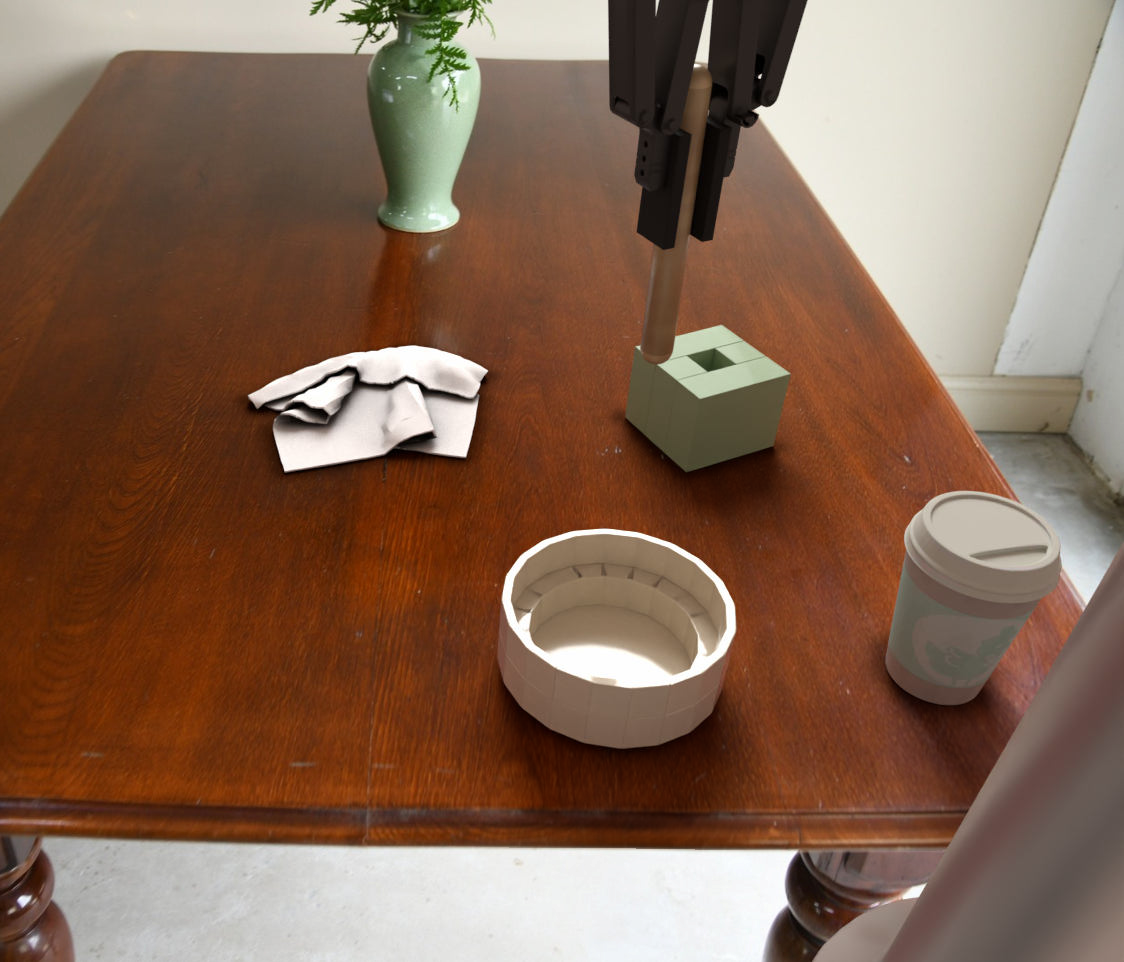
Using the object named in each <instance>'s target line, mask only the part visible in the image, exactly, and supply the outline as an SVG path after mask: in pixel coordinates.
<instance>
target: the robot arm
mask: <svg viewBox="0 0 1124 962" xmlns="http://www.w3.org/2000/svg"><path fill="white" fill-rule="evenodd" d="M709 3H710V0H658V4H657V0H607V20H608V21H607V23H608V25H607V27H608V29H607V30H608V31H607V32H608V33H607V34H608V97H609V98H608V100H609V102H608V103H609V106H608V107H609V110H610V111H611V114H614V115H615V116H617V117H619V118H621V119H623V120H624V121H626V122H628V123H630V124H631V125H634V127H637V128H638V129H639V130H638V131H639V132H638V133H639V134H638V142H637V150H636V158H635V166H634V173H633V176H634V179H635V183H636V184H637V185H639V186H641V188H642V189H641V194H640V202H639V209H638V218H637V225H636V233H637V234H638V235H640V236H641V237H643V238H644V239H646V240H647V241H648V242H650V243H652V245H653V244H655V245H656V246H658V247H659V248H661V249H662V250H667V249H672V248H674V247H675V241H676V234H677V228H678V221H679V215H680V208H681V202H682V195H683V189H684V182H685V176H686V169H687V163H688V156H689V150H690V143H691V137H692V134H690V133H688V132H686V131H684V130H682V129H681V128H680V125H681V122H682V117H683V113H684V108H685V104H686V99H687V95H688V91H689V86H690V82H691V77H692V73H693V68H694V64H696V59H697V55H698V51H699V46H700V41H701V38H702V37H701V36H702V33H703V29H704V28H703V27H704V25H705V19H706V15H707V10H708V6H709ZM807 5H808V0H712V5H711V6H712V7H711V15H710V16H711V19H710V30H709V31H710V32H709V45H708V57H707V67H706V68H707V69H708V70H709V72H710V74H711V76H712V89H711V96H710V103H709V110H708V116H707V123H706V130H705V137H704V144H703V151H702V157H701V164H700V171H699V178H698V185H697V192H696V198H695V205H694V212H693V219H692V226H691V233H690V237H693V238H695V239H696V240H697V241H699V242H700V243H704V242H710V241H713V240H714V235H715V230H716V229H715V228H716V223H717V217H718V212H719V206H720V200H721V194H722V190H723V189H722V188H723V182H724V179H725V178H729V177H730V176H731V174H732V171H733V170H734V167H735V161H736V157H737V150H738V145H739V140H740V133H741V127H742V128H744V129H749V128H752V127H753V126H754V125H756V123H757V121H758V120H759V116H760V114H759V113H757V112H755V111H754V110H756V109H758V108H760V107H764V108H770V107H772V106H774V104H775V103H776V102H777V101H778V99H779V96H780V93H781V90H782V86H783V83H784V80H785V77H786V73H787V69H788V66H789V63H790V60H791V57H792V54H793V50H794V48H795V44H796V40H797V37H798V33H799V31H800V27H801V24H802V20H803V17H804V14H805V10H806V8H807ZM759 77H760V78H759ZM1041 682H1042V683H1041V684H1040V686H1039V688H1038V689H1037V691H1036V693H1035V695H1034V696H1033V698H1032V700H1031V701H1030V703H1029V704H1028V707H1027V709H1026V710H1025V712H1024V714H1023V716H1022V717H1021V719H1020V721H1019V722H1018V724H1017V726H1016V727H1015V729H1014V731H1013V732H1012V734H1011V736H1010V738H1009V740H1008V741H1007V743H1006V745H1005V747H1004V748H1003V750H1002V752H1001V753H1000V755H999V757H998V758H997V760H996V762H995V764H994V766H993V767H992V769H991V771H990V773H989V774H988V776H987V778H986V779H985V781H984V782H983V785H982V787H981V788H980V790H979V792H978V793H977V795H976V797H975V798H974V800H973V802H972V804H971V805H970V807H969V809H968V811H967V813H966V814H965V816H964V818H963V819H962V822H961V823H960V824H959V826H958V828H957V830H956V831H955V833H954V835H953V837H952V839H950V842H949V844H948V845H947V847H946V849H945V851H944V852H943V854H942V856H941V857H940V860H939V861H938V863H937V865H936V866H935V868H934V870H933V871H932V873H931V875H930V876H929V878H928V880H927V882H926V884H925V885H924V887H923V889H922V890H921V893H920V894H919V895H918V896H917V897H916V896H915V897H910V898H909V897H908V898H903V899H898V900H895V901H891V902H889V903H886V904H882V905H879V906H876V907H874V908H872V909H870V910H868V911H866V912H864V913H862V914H859V915H858V916H856V917H855V918H853V919H852V920H851V921H850V922H847V924H845V925H844V926H842V927H841V928H840V929H839V930H838V931H836V932H835V933H834V934H833V935H832V936H831V937H830V938H829V939H828V940H826V942H825V943H824V944H822V946H821V948H820V949H819V951H818V952H817V953H816V955H815V956H814V958H813V959H812V961H811V962H1124V541H1123V542H1122V544H1121V545H1120V546H1119V548H1118V550H1117V551H1116V554H1115V555H1114V557H1113V559H1112V560H1111V563H1110V564H1109V566H1108V568H1107V569H1106V571H1105V573H1104V575H1103V576H1102V578H1101V580H1100V582H1099V583H1098V585H1097V587H1096V589H1095V590H1094V592H1093V594H1092V595H1091V598H1090V599H1089V601H1088V603H1087V604H1086V606H1085V608H1084V610H1083V611H1082V612H1081V615H1080V616H1079V618H1078V620H1077V622H1076V623H1075V625H1074V627H1073V628H1072V630H1071V632H1070V634H1069V635H1068V637H1067V639H1066V641H1065V643H1064V644H1063V646H1062V648H1061V650H1060V651H1059V653H1058V655H1057V656H1056V658H1055V659H1054V661H1053V664H1052V665H1051V667H1050V668H1049V671H1048V672H1047V673H1046V675H1045V677H1044V679H1043V680H1042V681H1041Z"/></svg>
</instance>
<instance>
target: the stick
mask: <svg viewBox="0 0 1124 962" xmlns="http://www.w3.org/2000/svg"><path fill="white" fill-rule="evenodd" d="M711 89H712V76H711V74H710V72H709V70H708V69H707V67H706V66H704V65H703V64H700V63H695V64H694V68H693V73H692V77H691V82H690V86H689V91H688V95H687V99H686V104H685V108H684V113H683V117H682V122H681V125H680V128H681V129H682V130H684V131H686V132H688V133H690V134H692V137H691V143H690V150H689V156H688V163H687V169H686V176H685V182H684V189H683V195H682V202H681V208H680V215H679V221H678V228H677V234H676V241H675V247H674V248H672V249H667V250H662V249H661V248H659V247H658V246H656V245H655V244H653V243H652V253H651V259H650V260H651V261H650V268H649V276H648V283H647V292H646V300H645V306H644V316H643V323H642V331H641V339H640V345H641V346H640V345H639V346H640V351H641V355H642V357H643V358H644V359H645V360H646V361H647V362H649V363H651V364H662V363H664V362H666V361H667V360H669V358H670V357H671V355H672V353H673V349H674V342H675V336H677V335H676V334H677V328H678V321H679V314H680V306H681V300H682V293H683V288H684V280H685V273H686V266H687V261H688V260H687V259H688V252H689V246H690V240H691V239H690V238H691V235H690V233H691V226H692V219H693V212H694V205H695V198H696V192H697V185H698V178H699V171H700V164H701V157H702V151H703V144H704V137H705V130H706V123H707V116H708V115H709V103H710V96H711Z"/></svg>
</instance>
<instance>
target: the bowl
mask: <svg viewBox="0 0 1124 962" xmlns="http://www.w3.org/2000/svg"><path fill="white" fill-rule="evenodd" d="M500 599H501V600H500V612H499V613H500V614H499V629H498V640H497V641H498V643H497V655H496V657H497V662H498V666H499V669H500V674H501V678H502V682H503V684H504V685H505V687H506V688H507V690H508V691H509V692H510V694H511V695H512V697H513V698H514V700H515V701H516V702H517V703H518V705H519V707H521V708H522V709H523V710H524V711H525V712H527V713H528V714H529V715H530V716H532V717H533V718H534V719H535V720H537V721H538V722H540V723H541V724H542V725H543V726H545V727H546V728H547V729H549V730H551V731H554V732H555V733H558V734H561V735H563V736H566V737H568V738H571V739H573V740H575V741H578V742H580V743H582V744H587V745H594V746H601V747H606V748H607V747H608V748H614V749H620V750H621V749H622V750H623V749H633V748H644V747H655V746H660V745H663V744H665V743H668V742H670V741H672V740H675V739H678V738H680V737H682V736H685V735H687V734H689V733H691V732H692V731H694V730H695V729H696V728H697V727H699V725H700V724H701V723H702V722H703V721H705V720H706V719H707V718H708V717H709V716H711V714H712V713H713V712H714V708H715V707H716V704H717V702H718V700H719V698H720V696H721V693H722V692H723V687H724V684H725V679H726V675H727V671H728V667H729V663H730V659H731V655H732V651H733V647H734V643H735V639H736V636H737V631H738V630H737V629H738V628H737V614H736V613H737V611H736V604H735V602H734V600H733V598H732V597H731V594H730V593H729V590H728V589H727V587H726V585H725V583H724V581H723V579H722V578H720V577H719V576H718V575H717V574H716V573H715V572H714V571H713V570H712V569H711V568H710V567H709V566H708V565H707V564H706V563H705V562H704V561H703V560H702V559H700V558H698V557H696V556H695V555H693V554H691V552H688V551H687V550H685V549H684V548H681V547H680V546H678V545H676V544H675V543H673V542H669V541H667V540H663V539H660V538H657V537H654V536H651V535H649V534H645V533H642V532H637V531H628V530H622V529H612V528H597V529H596V528H595V529H594V528H593V529H583V530H581V529H580V530H573V531H569V532H565V533H562V534H559V535H556V536H553V537H549V538H546V539H544V540H541V541H540V542H539V543H537V544H536V545H534V546H532V547H531V548H529V549H528V550H526V551H525V552H523V553H522V554H521V555H520V556H519V557H518V558H517V560H516V561H515V562H514V564H513V565H512V567H510V569H509V570H508V572H507V573H506V575H505V577H504V582H503V588H502V592H501V598H500Z"/></svg>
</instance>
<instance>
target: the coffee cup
mask: <svg viewBox="0 0 1124 962" xmlns="http://www.w3.org/2000/svg"><path fill="white" fill-rule="evenodd" d="M903 541H904V546H905V554H904V560H903V564H902V569H901V573H900V574H901V575H900V578H899V579H900V580H899V585H898V590H897V594H896V601H895V606H894V611H893V616H892V621H891V627H890V631H889V637H888V643H887V648H886V653H885V659H884V661H885V668H886V670H887V672H888V674H889V676H890V678H892V680H893V681H894V682H895V683H896V684H897V686H899V687H900V688H902V689H903V691H905V692H907V693H908V694H910V695H911V696H913V697H916V698H917V699H920V700H922V701H924V702H927V703H932V704H934V705H935V704H936V705H942V706H959V705H964V704H966V703H968V702H970V701H972V700H974V699H975V698H976V697H977V696H978V695H979V693H980V691H981V690H982V689H983V688H984V686H985V684H986V683H987V682H988V680H989V678H990V677H991V675H992V674H993V672H995V669H996V668H997V666H998V665H999V663H1000V662H1001V661H1002V659H1003V657H1004V656H1005V654H1006V653H1007V652H1008V650H1009V649H1010V647H1011V645H1012V644H1013V642H1014V641H1015V639H1016V638H1017V636H1018V635H1019V633H1020V632H1021V630H1022V629H1023V627H1024V626H1025V624H1026V623H1027V621H1028V620H1029V618H1031V617H1030V616H1031V615H1032V614H1033V613H1034V610H1035V609H1036V608H1037V606H1038V605H1039V603H1040V602H1041V600H1042V599H1043V598H1044V597H1047V596H1049V594H1051V593H1052V592H1053V591H1054V590H1055V589H1056V587H1057V586H1058V584H1059V583H1060V578H1061V572H1062V568H1063V566H1062V564H1063V563H1062V558H1061V541H1060V538H1059V536H1058V534H1057V532H1056V530H1055V529H1054V528H1053V526H1052V525H1051V524H1050V523H1049V522H1048V521H1047V520H1046V519H1045V518H1044V517H1042V515H1040V514H1039V513H1038V512H1036V511H1035V510H1033V509H1031V508H1029V507H1028V506H1026V505H1023V504H1021V503H1019V502H1017V501H1015V500H1012V499H1010V498H1008V497H1004V496H1001V495H998V494H993V493H989V492H984V491H974V490H956V491H949V492H945V493H942V494H940V495H936V496H935V497H933V498H931V499H930V500H929V501H928V502H927V503H926V504H925V506H924V507H923V508H922V509H921V510H919V511H918V512H917V513H916V514H915V515H914V516H913V517H912V519H911V521H910V523H909V524H908V525H907V526H906V528H905V531H904V537H903Z"/></svg>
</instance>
